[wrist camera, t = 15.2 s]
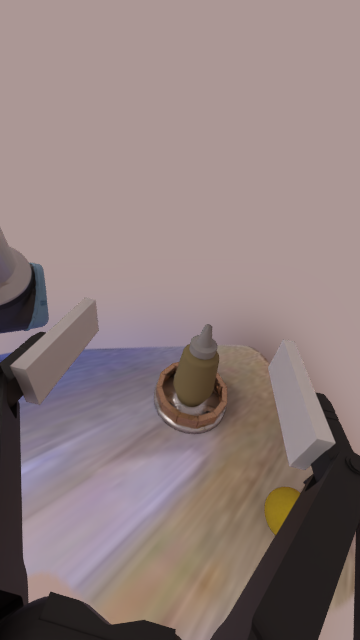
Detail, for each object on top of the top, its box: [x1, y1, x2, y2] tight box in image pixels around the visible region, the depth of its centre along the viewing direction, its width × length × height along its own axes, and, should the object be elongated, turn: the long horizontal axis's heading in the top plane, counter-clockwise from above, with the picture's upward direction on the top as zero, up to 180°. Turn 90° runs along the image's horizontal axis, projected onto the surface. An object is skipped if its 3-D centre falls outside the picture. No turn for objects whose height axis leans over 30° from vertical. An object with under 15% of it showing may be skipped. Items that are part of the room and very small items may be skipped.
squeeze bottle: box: [173, 324, 219, 407], centre depth 40 cm, size 8×8×18 cm
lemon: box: [265, 487, 300, 535], centre depth 29 cm, size 6×6×8 cm
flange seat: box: [154, 362, 227, 434], centre depth 45 cm, size 15×15×4 cm
